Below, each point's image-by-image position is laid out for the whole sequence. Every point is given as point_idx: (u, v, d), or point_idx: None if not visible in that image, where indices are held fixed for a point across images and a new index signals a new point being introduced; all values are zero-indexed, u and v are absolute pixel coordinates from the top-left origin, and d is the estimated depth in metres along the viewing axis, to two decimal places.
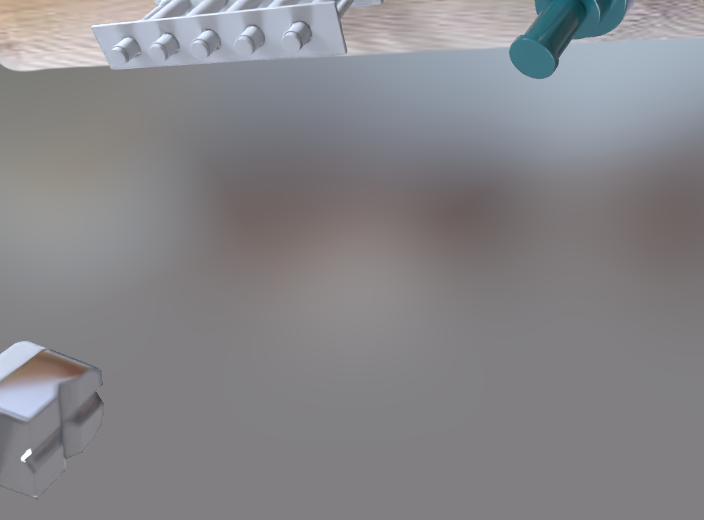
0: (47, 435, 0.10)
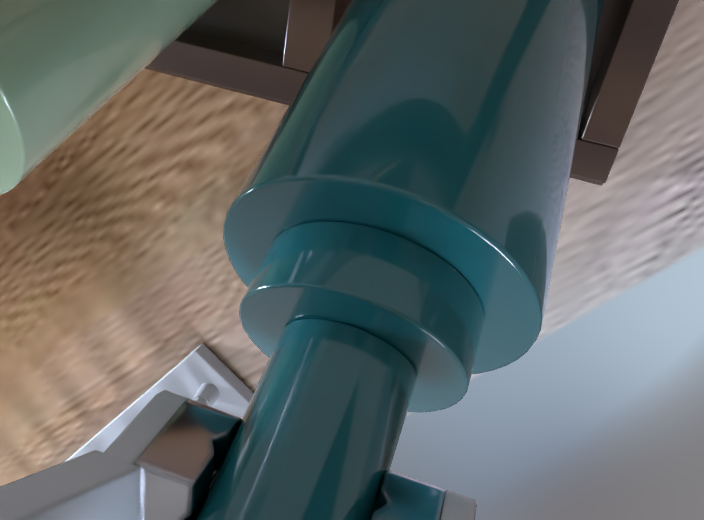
0: (203, 494, 0.09)
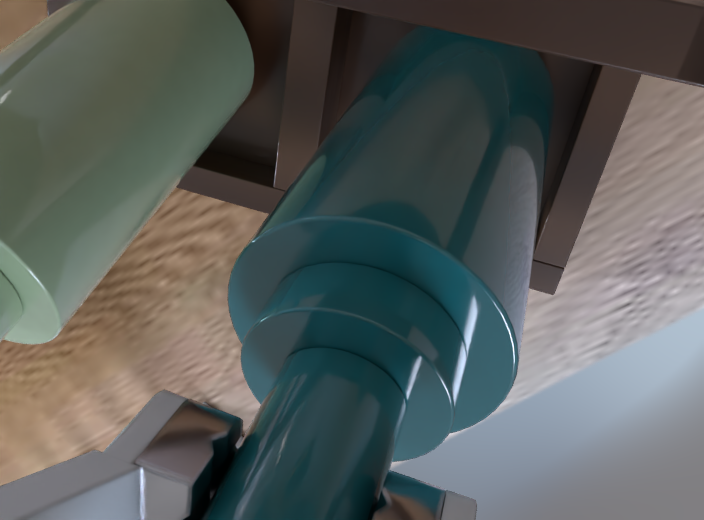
0: (202, 494, 0.09)
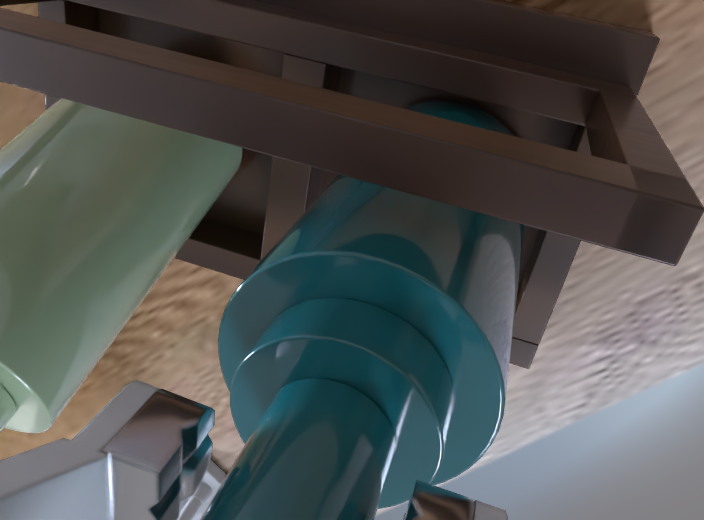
0: (171, 482, 0.09)
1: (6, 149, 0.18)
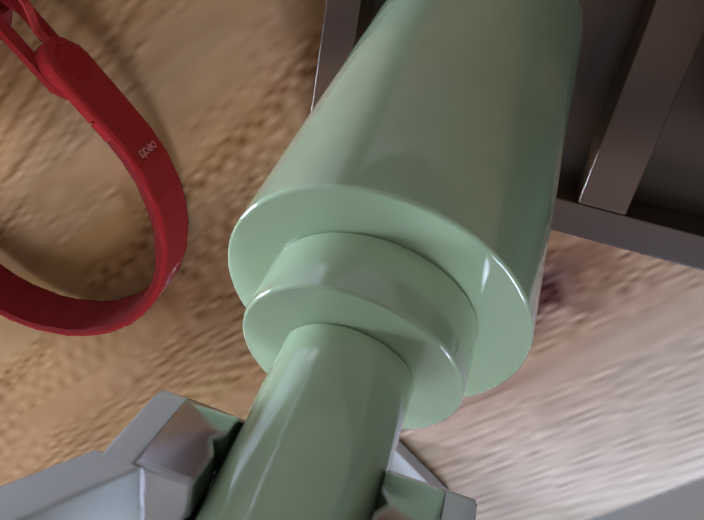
0: (202, 494, 0.09)
1: (398, 32, 0.14)
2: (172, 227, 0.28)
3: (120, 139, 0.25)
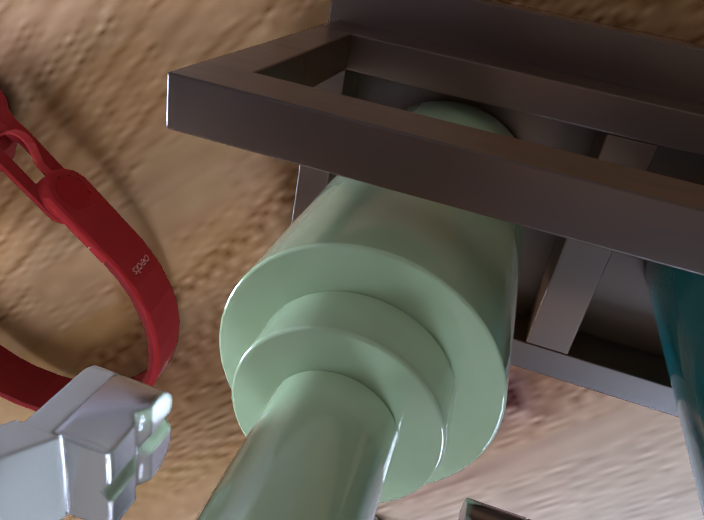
0: (124, 464, 0.09)
1: None
2: (164, 331, 0.30)
3: (115, 260, 0.28)
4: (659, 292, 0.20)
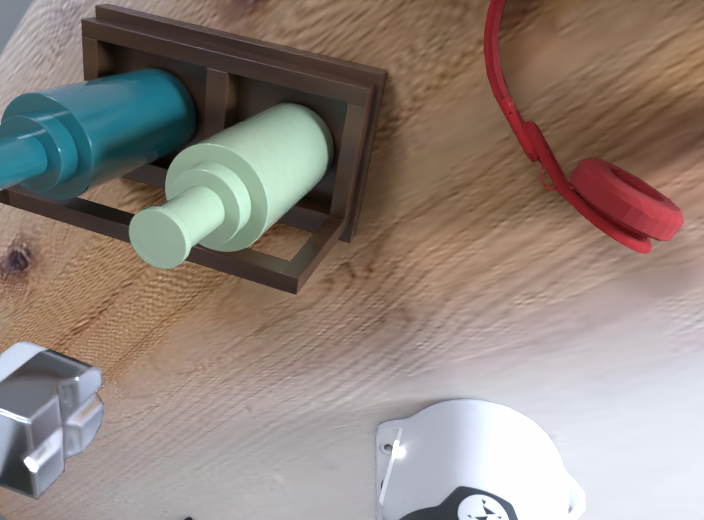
0: (47, 435, 0.10)
1: None
2: None
3: (496, 99, 0.38)
4: (175, 123, 0.43)
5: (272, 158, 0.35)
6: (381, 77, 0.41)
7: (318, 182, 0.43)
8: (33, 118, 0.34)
